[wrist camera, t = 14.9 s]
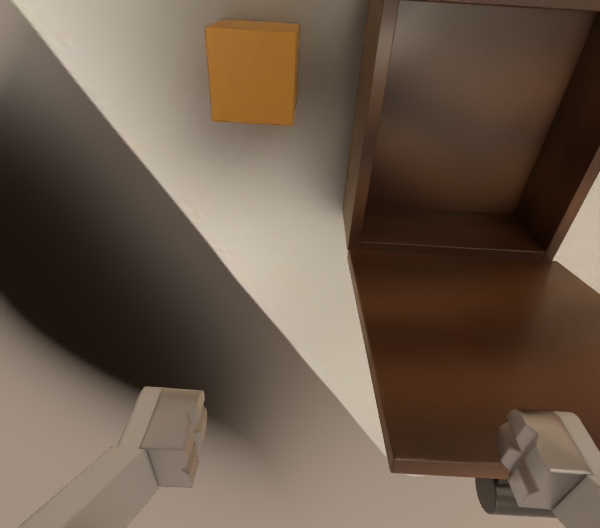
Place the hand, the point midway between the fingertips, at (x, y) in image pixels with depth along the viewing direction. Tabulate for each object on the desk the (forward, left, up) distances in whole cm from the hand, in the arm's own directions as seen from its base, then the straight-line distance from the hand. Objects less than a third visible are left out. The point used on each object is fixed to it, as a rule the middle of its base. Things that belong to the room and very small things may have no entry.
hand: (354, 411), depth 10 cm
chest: (-2, +9, -23) cm, 25 cm away
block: (-4, -5, -23) cm, 24 cm away
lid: (+4, +9, -8) cm, 13 cm away
